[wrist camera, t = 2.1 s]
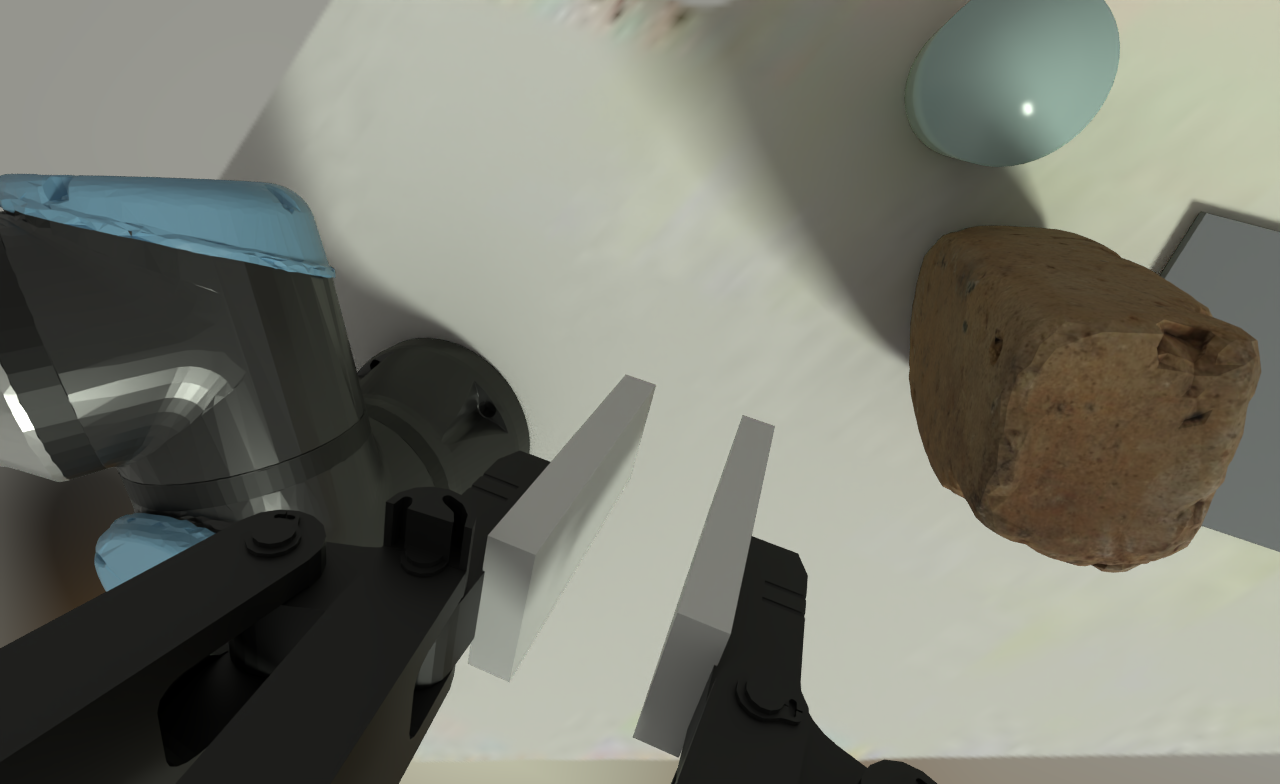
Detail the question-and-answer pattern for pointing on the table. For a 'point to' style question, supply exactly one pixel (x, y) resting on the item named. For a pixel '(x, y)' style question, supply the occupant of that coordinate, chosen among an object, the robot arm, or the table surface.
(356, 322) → the table surface
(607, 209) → the table surface
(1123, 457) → the brown sandstone rock
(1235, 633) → the table surface
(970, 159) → the pale blue rounded cylinder
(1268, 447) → the mat
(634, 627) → the table surface
